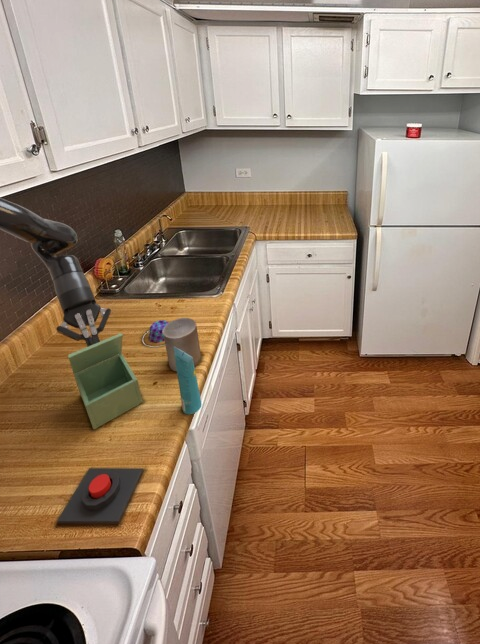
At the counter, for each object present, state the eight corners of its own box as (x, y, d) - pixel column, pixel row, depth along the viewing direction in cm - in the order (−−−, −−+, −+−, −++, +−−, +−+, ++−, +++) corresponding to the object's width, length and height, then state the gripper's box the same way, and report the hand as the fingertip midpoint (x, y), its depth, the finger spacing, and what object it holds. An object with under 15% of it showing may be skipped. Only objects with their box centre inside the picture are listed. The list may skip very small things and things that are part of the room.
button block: (58, 526, 65) (53, 515, 64) (91, 473, 74) (87, 462, 73) (119, 526, 65) (116, 515, 64) (144, 473, 74) (141, 462, 73)
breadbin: (143, 404, 91) (137, 379, 88) (94, 431, 84) (85, 406, 80) (127, 376, 100) (121, 352, 97) (82, 398, 93) (73, 374, 90)
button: (86, 498, 67) (84, 492, 66) (97, 479, 70) (95, 474, 70) (104, 498, 67) (102, 492, 66) (114, 479, 70) (112, 474, 70)
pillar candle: (198, 348, 112) (193, 310, 106) (204, 367, 104) (198, 328, 98) (167, 357, 108) (160, 319, 102) (170, 378, 100) (162, 338, 94)
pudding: (183, 339, 116) (181, 327, 114) (146, 353, 109) (143, 340, 107) (175, 322, 125) (173, 310, 123) (140, 333, 119) (137, 321, 117)
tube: (208, 406, 91) (200, 351, 84) (195, 421, 87) (185, 363, 80) (189, 396, 94) (179, 341, 87) (175, 409, 90) (164, 353, 83)
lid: (122, 335, 87) (121, 332, 87) (68, 357, 79) (67, 354, 79) (121, 352, 97) (120, 350, 97) (73, 374, 89) (72, 371, 89)
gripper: (42, 297, 84) (65, 360, 80) (102, 278, 92) (124, 335, 89) (45, 305, 89) (66, 365, 86) (101, 287, 98) (122, 341, 94)
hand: (96, 350), depth 87 cm, fingers closed
